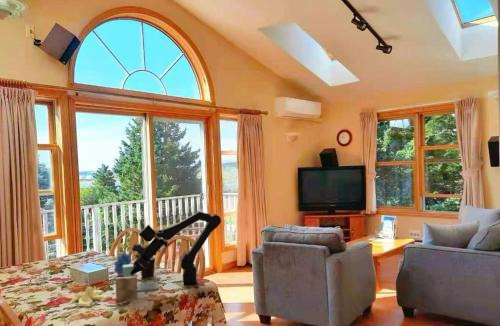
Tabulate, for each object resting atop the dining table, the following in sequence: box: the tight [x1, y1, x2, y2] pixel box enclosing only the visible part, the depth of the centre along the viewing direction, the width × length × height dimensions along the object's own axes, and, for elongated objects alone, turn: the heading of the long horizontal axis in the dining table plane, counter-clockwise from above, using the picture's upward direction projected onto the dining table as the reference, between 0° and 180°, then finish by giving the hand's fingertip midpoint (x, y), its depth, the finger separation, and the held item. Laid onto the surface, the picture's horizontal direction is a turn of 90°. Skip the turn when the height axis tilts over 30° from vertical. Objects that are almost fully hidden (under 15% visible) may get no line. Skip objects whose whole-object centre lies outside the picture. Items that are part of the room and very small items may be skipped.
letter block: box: [122, 263, 135, 277], centre depth 194 cm, size 5×5×12 cm
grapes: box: [113, 252, 132, 276], centre depth 222 cm, size 12×7×12 cm, turn 149°
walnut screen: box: [115, 275, 138, 302], centre depth 181 cm, size 9×2×10 cm, turn 95°
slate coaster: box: [137, 282, 159, 293], centre depth 196 cm, size 10×10×1 cm
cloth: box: [67, 286, 111, 307], centre depth 182 cm, size 22×19×6 cm
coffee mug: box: [140, 256, 156, 279], centre depth 218 cm, size 12×9×10 cm
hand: (131, 271), depth 194 cm, fingers open, 9 cm apart
